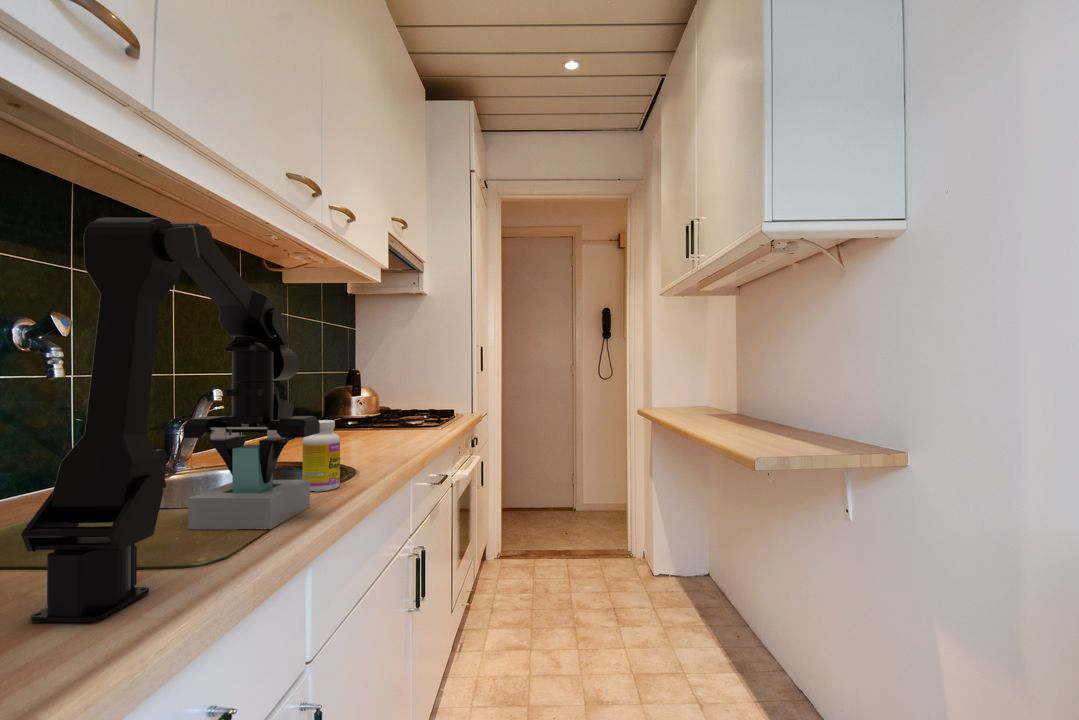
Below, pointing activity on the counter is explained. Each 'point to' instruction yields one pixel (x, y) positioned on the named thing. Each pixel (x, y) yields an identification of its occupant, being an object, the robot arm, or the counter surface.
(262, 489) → the teal block
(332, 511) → the counter surface
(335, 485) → the supplement bottle
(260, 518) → the well block
